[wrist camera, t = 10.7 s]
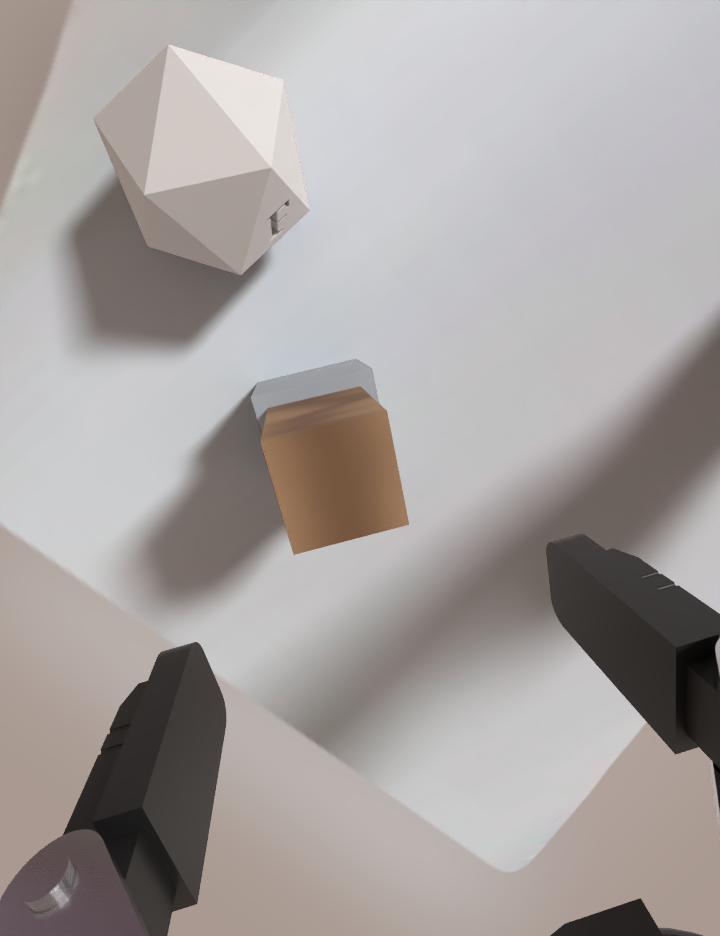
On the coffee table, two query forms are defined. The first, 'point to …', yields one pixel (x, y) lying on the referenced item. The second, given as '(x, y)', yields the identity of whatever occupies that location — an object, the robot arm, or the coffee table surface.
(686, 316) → the coffee table surface
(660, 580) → the robot arm
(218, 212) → the die
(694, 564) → the coffee table surface
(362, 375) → the grey block
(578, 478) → the coffee table surface
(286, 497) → the walnut block
